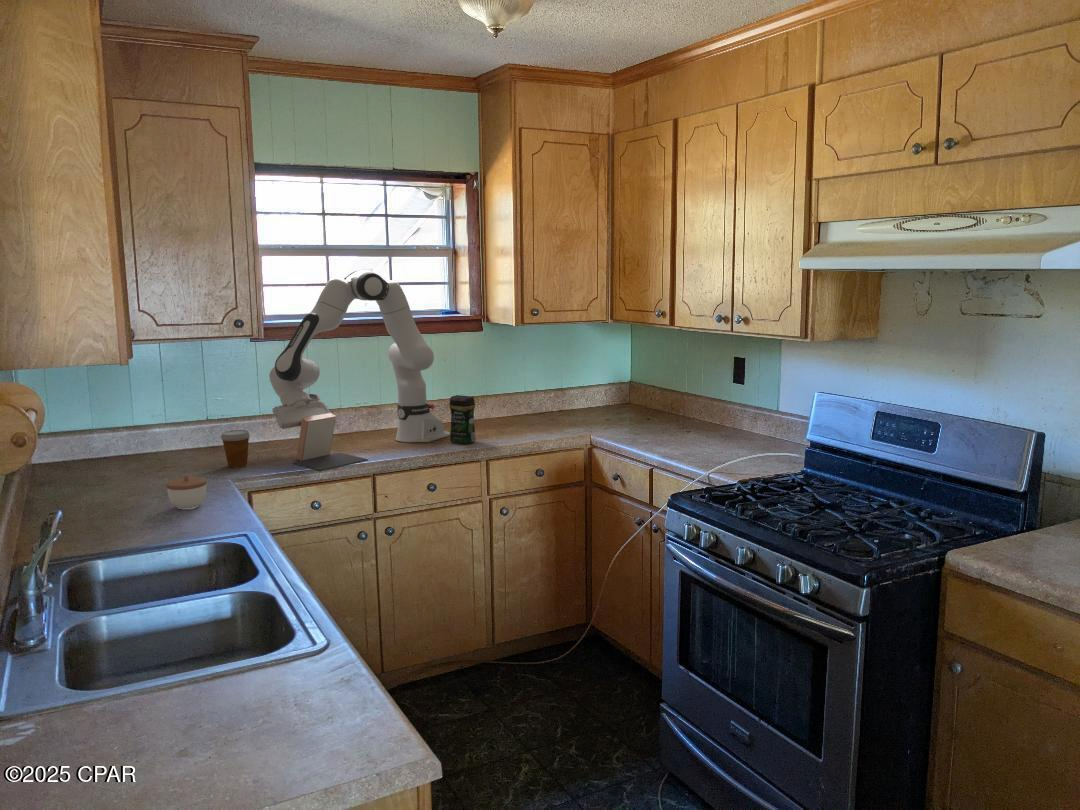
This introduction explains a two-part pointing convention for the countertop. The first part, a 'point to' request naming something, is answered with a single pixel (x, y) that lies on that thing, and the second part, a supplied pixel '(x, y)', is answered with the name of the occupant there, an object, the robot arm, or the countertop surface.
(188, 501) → the lidded jar
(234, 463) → the disposable coffee cup
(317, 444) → the tile
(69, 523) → the countertop surface
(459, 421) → the coffee jar
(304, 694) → the countertop surface
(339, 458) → the mat
